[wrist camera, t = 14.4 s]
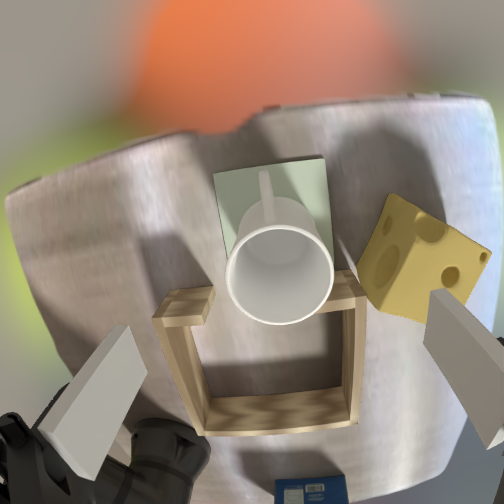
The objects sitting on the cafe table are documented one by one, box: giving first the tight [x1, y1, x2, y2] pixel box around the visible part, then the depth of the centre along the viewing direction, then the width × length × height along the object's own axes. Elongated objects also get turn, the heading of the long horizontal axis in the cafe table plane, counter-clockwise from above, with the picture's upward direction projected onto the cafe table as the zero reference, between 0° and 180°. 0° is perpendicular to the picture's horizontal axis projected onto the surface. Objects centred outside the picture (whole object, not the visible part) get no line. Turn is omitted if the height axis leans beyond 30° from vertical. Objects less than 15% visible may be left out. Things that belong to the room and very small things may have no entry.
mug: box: [225, 170, 334, 325], centre depth 27 cm, size 12×8×12 cm
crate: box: [152, 269, 367, 436], centre depth 36 cm, size 22×20×7 cm
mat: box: [213, 158, 335, 265], centre depth 33 cm, size 12×12×1 cm
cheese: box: [356, 193, 492, 324], centre depth 29 cm, size 10×11×10 cm
